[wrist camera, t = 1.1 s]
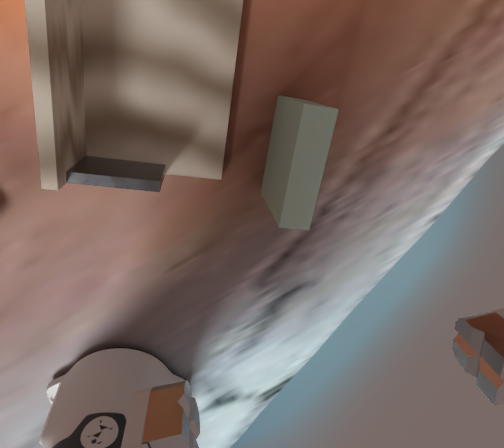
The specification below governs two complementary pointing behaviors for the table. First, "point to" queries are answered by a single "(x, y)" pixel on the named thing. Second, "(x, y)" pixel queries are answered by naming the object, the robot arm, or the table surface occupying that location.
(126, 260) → the table surface
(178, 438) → the robot arm
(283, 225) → the grey flat block
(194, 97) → the shelf
